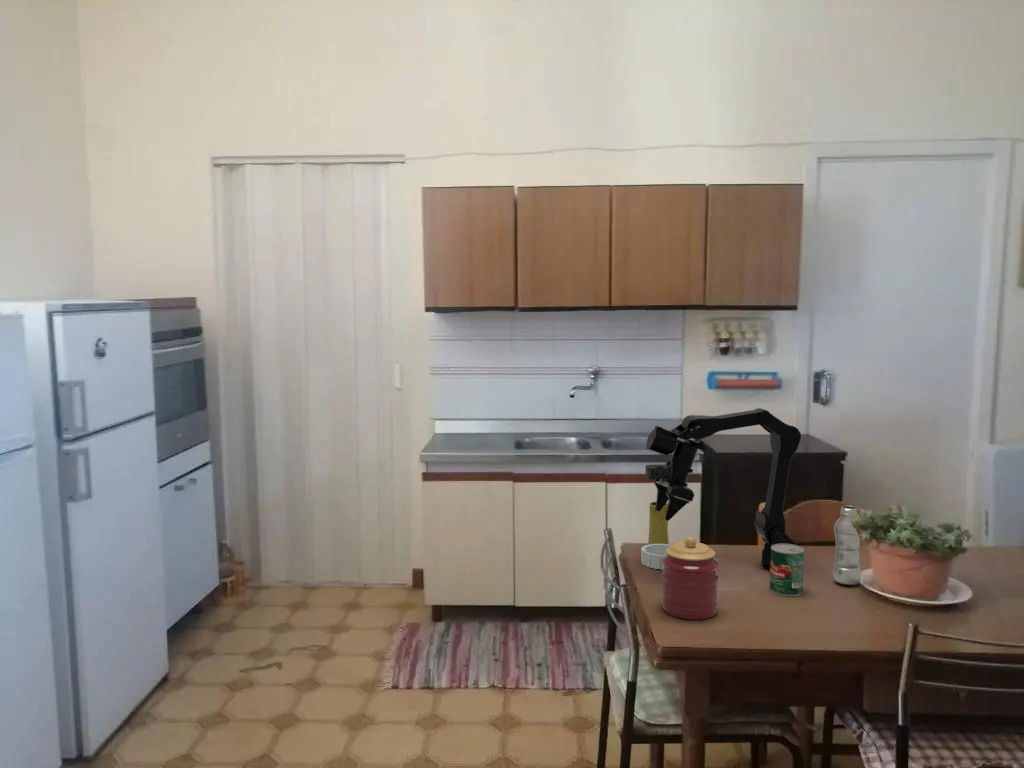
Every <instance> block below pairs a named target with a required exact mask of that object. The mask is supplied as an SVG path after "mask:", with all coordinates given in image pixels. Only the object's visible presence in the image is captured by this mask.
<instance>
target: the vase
mask: <svg viewBox="0 0 1024 768" xmlns="http://www.w3.org/2000/svg"><path fill="white" fill-rule="evenodd" d="M667 506H668V502H667V503H666V504H665V505H664V507H663V508H662V509H661V510H660V511H656V501H651V502H650V503H649V522H648V523H649V526H648V544H647V545H649V544H668V545H670V544H669V521H668V520H665V515H666V510H667Z"/></svg>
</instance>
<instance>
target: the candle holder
mask: <svg viewBox="0 0 1024 768" xmlns="http://www.w3.org/2000/svg"><path fill="white" fill-rule="evenodd" d="M672 545H673V544H669V545H668V544H649V545H648V544H645V545H643V546H642V547H641V548H640V562H641V565H642V566H644V565H645V566H647V567H646V568H648V567H650V568H649V569H651V568H655V569H654V570H656V569H660V570H659V571H663V570H664V564H663V562H662V559H663V557H664V556H666V555H667V553H666V549H667V548H668V547H670V546H672ZM645 566H644V567H645Z"/></svg>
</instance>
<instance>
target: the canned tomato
mask: <svg viewBox="0 0 1024 768" xmlns="http://www.w3.org/2000/svg"><path fill="white" fill-rule="evenodd" d="M804 558H805V549H804V547H802V546H801V545H800V546H799V545H797V544H794V545H793V544H774V545H772V546H771V565H770V569H769V570H770V572H769V590H770V592H772V593H773V594H776V595H778V596H783V597H798V596H801V595H803V593H804V592H803V589H804V588H803V587H804V561H805V560H804Z"/></svg>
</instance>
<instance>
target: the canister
mask: <svg viewBox="0 0 1024 768" xmlns="http://www.w3.org/2000/svg"><path fill="white" fill-rule="evenodd" d="M671 545H672V546H670V547H668V548H667V549H666V553H667V555H666V556H664V557H663V559H662V562H663V564H664V570H662V572H661V576H662V596H661V604H662V609H663V610H664V612H665V613H667V614H668V615H671V616H673V617H676V618H679V619H684V620H692V621H693V620H696V621H697V620H705V619H706V620H707V619H710V618H712V617H714V616H715V615H716V614H717V612H718V608H719V600H718V591H719V590H718V589H719V588H718V587H719V586H718V583H719V582H718V581H719V578H720V577H719V575H718V573H717V568H718V567H719V565H720V563H719V561H718V560H717V559H716V558H715V555H716V551H715V550H714V549H712V548H711V547H709V545H707V544H705V543H701V542H698V541H697V540H696V538H695V537H693V536H687V537H686V538H685V539H684V541H677V542H674V543H673V544H671Z"/></svg>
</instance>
